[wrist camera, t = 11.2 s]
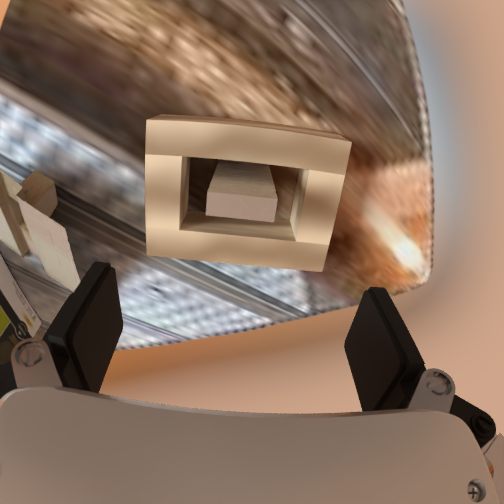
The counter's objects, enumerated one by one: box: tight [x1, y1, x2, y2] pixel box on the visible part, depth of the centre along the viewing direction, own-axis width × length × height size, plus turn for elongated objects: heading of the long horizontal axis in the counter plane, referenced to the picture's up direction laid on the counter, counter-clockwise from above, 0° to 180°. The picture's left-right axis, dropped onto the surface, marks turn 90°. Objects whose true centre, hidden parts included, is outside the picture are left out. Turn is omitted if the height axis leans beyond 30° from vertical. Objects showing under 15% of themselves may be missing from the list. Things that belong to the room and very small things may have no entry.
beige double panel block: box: [0, 170, 81, 292], centre depth 28 cm, size 16×9×15 cm
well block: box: [145, 115, 352, 272], centre depth 28 cm, size 12×16×4 cm
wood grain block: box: [206, 159, 278, 222], centre depth 25 cm, size 4×4×10 cm
